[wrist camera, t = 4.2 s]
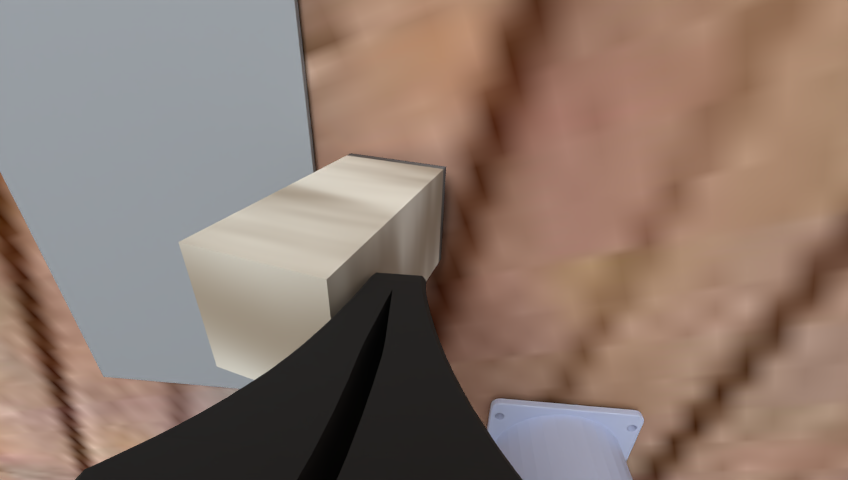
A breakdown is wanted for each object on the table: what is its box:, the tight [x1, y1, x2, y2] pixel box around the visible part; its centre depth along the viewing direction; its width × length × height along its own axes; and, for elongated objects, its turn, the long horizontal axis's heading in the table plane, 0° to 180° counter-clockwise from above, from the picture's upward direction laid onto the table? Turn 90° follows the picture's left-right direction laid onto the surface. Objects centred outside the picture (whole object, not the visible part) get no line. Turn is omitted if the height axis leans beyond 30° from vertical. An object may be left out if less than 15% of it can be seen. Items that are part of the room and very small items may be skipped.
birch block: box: [178, 154, 446, 380], centre depth 13 cm, size 4×4×8 cm
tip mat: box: [0, 0, 316, 389], centre depth 17 cm, size 24×14×1 cm, turn 179°
